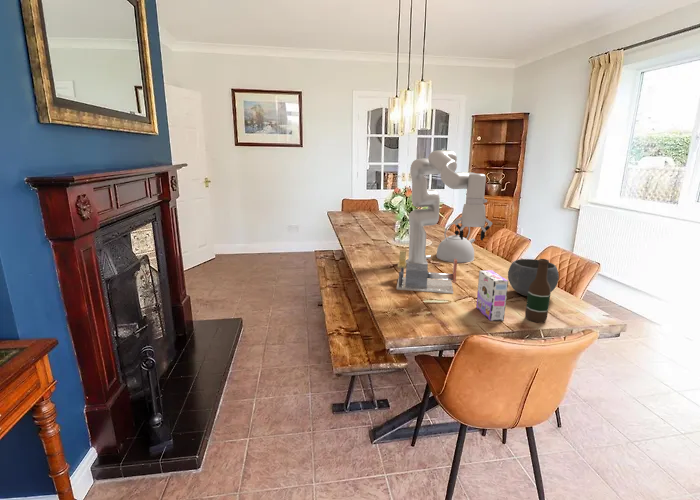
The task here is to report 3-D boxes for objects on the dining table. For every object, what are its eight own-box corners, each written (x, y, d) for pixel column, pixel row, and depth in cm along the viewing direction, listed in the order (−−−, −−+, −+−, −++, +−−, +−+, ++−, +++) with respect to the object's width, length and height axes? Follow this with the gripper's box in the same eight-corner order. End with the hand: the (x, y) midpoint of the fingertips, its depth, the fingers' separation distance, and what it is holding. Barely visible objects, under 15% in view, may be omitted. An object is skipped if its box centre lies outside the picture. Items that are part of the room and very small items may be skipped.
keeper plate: (406, 264, 191) (407, 250, 189) (405, 268, 184) (406, 254, 182) (398, 263, 191) (399, 250, 190) (397, 267, 185) (398, 253, 183)
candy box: (504, 321, 144) (509, 280, 140) (489, 321, 144) (494, 280, 140) (488, 306, 157) (492, 269, 153) (475, 307, 157) (478, 269, 153)
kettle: (462, 251, 248) (465, 217, 242) (485, 260, 227) (488, 224, 221) (429, 254, 240) (431, 219, 235) (449, 264, 219) (452, 226, 214)
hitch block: (450, 281, 189) (452, 263, 187) (453, 293, 172) (454, 274, 170) (398, 277, 194) (399, 260, 192) (396, 289, 177) (397, 270, 175)
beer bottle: (537, 324, 141) (546, 263, 135) (520, 317, 148) (527, 258, 142) (551, 320, 145) (560, 261, 139) (533, 313, 151) (541, 256, 145)
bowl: (566, 300, 165) (571, 268, 161) (527, 305, 159) (532, 271, 155) (532, 285, 184) (536, 256, 180) (496, 289, 178) (500, 259, 174)
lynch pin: (454, 280, 181) (456, 258, 179) (455, 284, 176) (457, 261, 174) (420, 278, 184) (421, 256, 182) (420, 281, 179) (421, 259, 177)
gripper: (493, 201, 170) (490, 238, 175) (454, 200, 173) (451, 236, 178) (496, 203, 163) (492, 242, 167) (455, 202, 166) (452, 240, 171)
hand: (471, 239), depth 173 cm, fingers open, 8 cm apart
